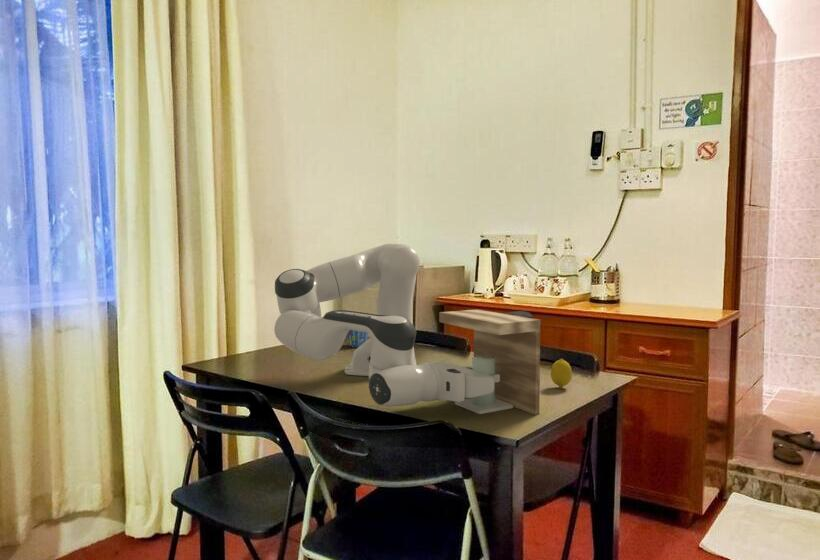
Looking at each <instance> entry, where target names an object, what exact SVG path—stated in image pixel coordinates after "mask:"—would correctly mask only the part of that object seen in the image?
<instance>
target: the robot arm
mask: <svg viewBox="0 0 820 560" xmlns="http://www.w3.org/2000/svg"><path fill="white" fill-rule="evenodd" d="M420 266H421V263H420V257H419V255H418V253H417V252H416V251H415V250H414V249H413V248H412V247H410V246H409V245H406V244H403V243H384V244H381V245H378V246H375V247H372V248H369V249H366V250H363V251H360V252H358V253H356V254H352V255H349V256H345V257H342V258H339V259H335V260H331V261H328V262H325V263H324V262H323V263H322V264H318V265H317V266H314V267H312V268H309V269H307V270H305V269H301V268H293V269H292V268H291V269H288V270H285V271H283V272H281V273H280V274H279V275H278V277H276V279H275V281H274V294H275V295H276V300H277V306H278V312H279V313H280V314H279V316H278V317H277V319H276V320H275V323H274V329H273V330H274V335H275V338H276V339H277V341H279V342H280V343H281V344H282V345H284V347H287V349H289V350H291V351H292V352H294V353H296V354H297V355H300V356H303V357H304V358H307V359H309V360H313V361H317V362H321V361H326V360H329V359H330V358H332V357H334V356H335V355H336V354H337V353H338V352H339V351H340V350H341V348H342V346H343V344H344V342H345V340H346V336H347V334H348V332H349V331H350V330H354V331H360V332H366V333H369V337H368V340H367V341H365V342H364V343H363V344H362V345H360V346H359V347H356V349H355V350H354V351H353V354H352V358H351V363H349V364H347V365H346V366H345V367H344V374H345V375H349V376H365V377H368V389H369V394H370V396H371V398H372V400H373V401H374V402H375V403H376V404H377V405H379V406H383V407H403V406H410V405H415V404H417V403H420V402H435V401H440V402H441V401H448V402H454V403H455V402H462V401H464V399H470V398H473V397H478V396H483V395H487V394H490V393H492V392H493V391H494V389H495V383H496V382H499V381H500V375H498V374H490V375H487V374H484V373H481V372H478V371H474V370H472V365H470V366H469V365H468V366H464V365H463V366H462V365H458V364H455V363H451V362H448V361H445V360H438V361H429V362H422V363H420V364H418V365H417V360H416V354H415V348H414V347H415V346H414V345H415V341H416V338H417V337H416V336H417V330H416V328H415V325H414V323H413V320H414V319H413V318H414V317H413V315H414V314H413V313H414V311H413V310H414V309H413V308H414V307H413V306H414V305H413V304H414V292H415V288H416V283H417V282H416V281H417V274H418V271H419V269H420ZM375 285H376V286H377V285H379V289H378V294H377V298H376V314H375V313H368V312H367V313H366V312H362V311H356V310H355V311H354V310H353V311H352V310H344V309H337V310H336V309H335V310H330V311H328V312H325V314H324V315H323V316H322V310H321V304H320V303H324V302H325V303H326V302H329V301H333V300H337V299H340V298H343V297H347V296H349V295H352V294H357V293H360V292H362V291H365V290H367V289H369V288H372V287H374V286H375Z"/></svg>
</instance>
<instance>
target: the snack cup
mask: <svg viewBox="0 0 820 560" xmlns="http://www.w3.org/2000/svg"><path fill="white" fill-rule="evenodd" d="M369 338H370V334H369V333H366V332H360V331H354V330H350V331H349V332H348V334H347V336H346V338H345V340H346V344H347V346H348V347H350V346H353V347H352V348H358V347H359V346H360V345H362V344H363V343H364V342H365V341H367V340H368V339H369Z"/></svg>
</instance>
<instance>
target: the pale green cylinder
mask: <svg viewBox="0 0 820 560" xmlns="http://www.w3.org/2000/svg"><path fill="white" fill-rule="evenodd" d="M471 359H472V361H471V366H472V370H474V371H478V372H481V373H484V374H487V375H490V374H495V358H494V357H491V356H475V357H474V356H472V358H471ZM472 403H473V404H475V405H479V406H490V405H494V404H495V389H494V391H493V392H492V393H490V394H487V395H483V396H478V397H473V398H472Z"/></svg>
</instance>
